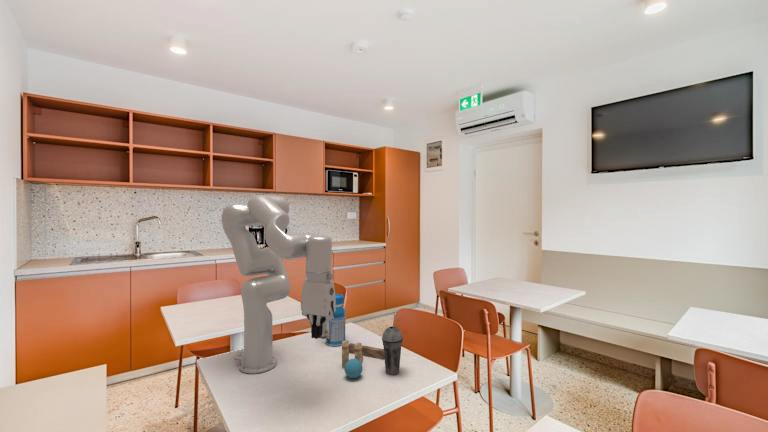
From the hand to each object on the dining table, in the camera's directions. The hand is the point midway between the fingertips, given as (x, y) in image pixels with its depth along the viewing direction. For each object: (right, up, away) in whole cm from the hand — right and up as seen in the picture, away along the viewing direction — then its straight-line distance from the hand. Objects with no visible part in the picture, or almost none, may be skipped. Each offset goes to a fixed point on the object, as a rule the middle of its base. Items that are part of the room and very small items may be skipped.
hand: (316, 336), depth 101 cm
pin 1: (+7, -17, +18) cm, 26 cm away
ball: (+10, -14, +10) cm, 20 cm away
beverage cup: (+23, -18, +14) cm, 32 cm away
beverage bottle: (0, -17, +40) cm, 44 cm away
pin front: (+8, -16, +14) cm, 23 cm away
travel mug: (-6, -17, +48) cm, 51 cm away
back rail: (+14, -17, +28) cm, 36 cm away
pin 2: (+11, -17, +16) cm, 26 cm away
